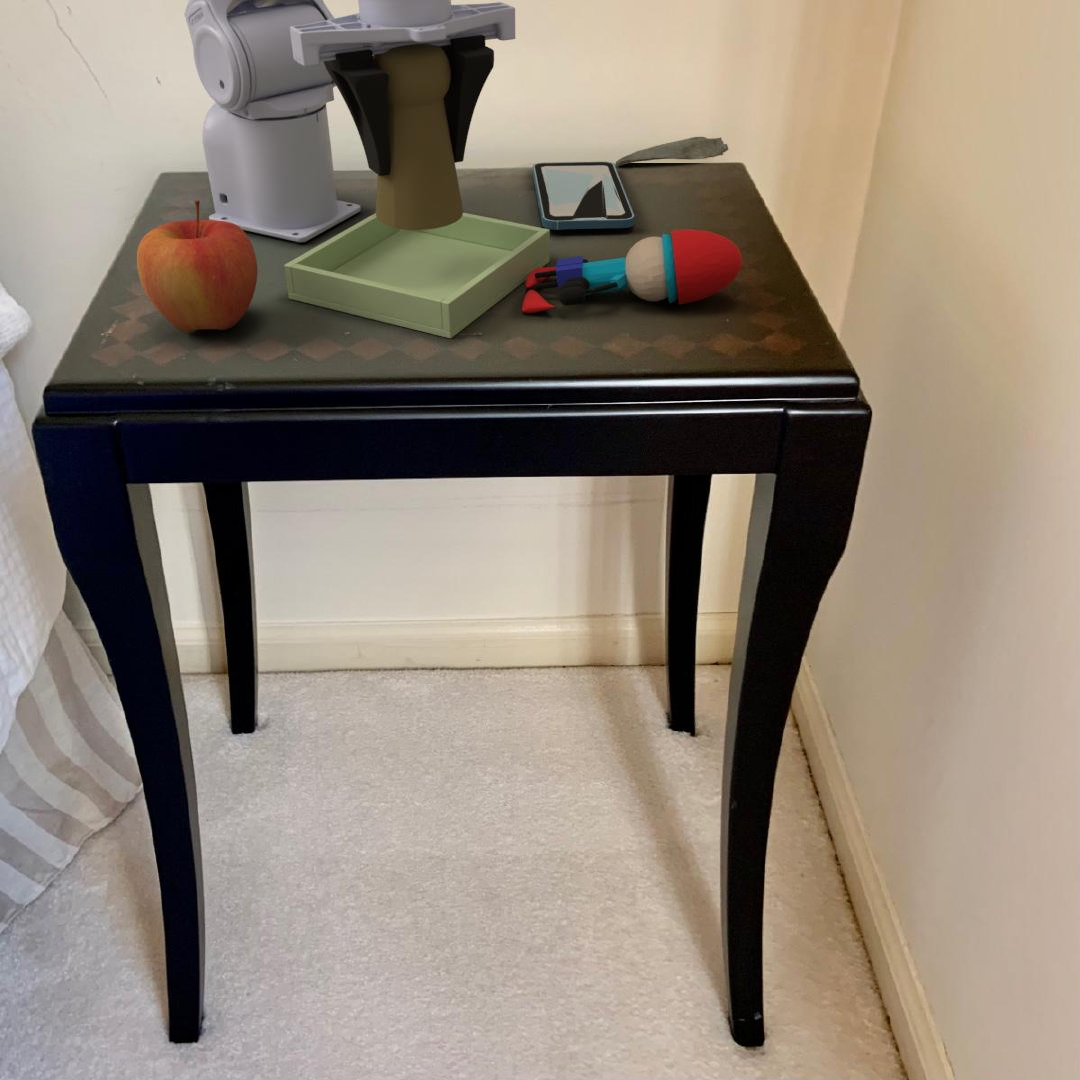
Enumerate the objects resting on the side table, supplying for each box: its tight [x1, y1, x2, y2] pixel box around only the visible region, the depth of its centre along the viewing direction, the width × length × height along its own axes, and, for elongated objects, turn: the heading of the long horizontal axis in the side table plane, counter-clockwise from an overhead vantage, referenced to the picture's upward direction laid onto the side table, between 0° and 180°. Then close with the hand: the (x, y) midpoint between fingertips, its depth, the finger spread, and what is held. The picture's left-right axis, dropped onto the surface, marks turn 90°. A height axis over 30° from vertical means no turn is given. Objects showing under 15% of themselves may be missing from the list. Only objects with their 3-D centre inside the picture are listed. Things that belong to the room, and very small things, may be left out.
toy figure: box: [521, 228, 743, 314], centre depth 75 cm, size 8×5×15 cm
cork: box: [373, 44, 464, 230], centre depth 72 cm, size 6×6×11 cm
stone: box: [615, 136, 729, 167], centre depth 100 cm, size 11×2×5 cm
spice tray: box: [283, 212, 551, 339], centre depth 78 cm, size 13×14×2 cm
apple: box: [136, 199, 258, 334], centre depth 70 cm, size 7×7×8 cm
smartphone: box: [532, 161, 636, 232], centre depth 91 cm, size 7×1×15 cm
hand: (415, 164), depth 74 cm, fingers closed on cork, 5 cm apart
